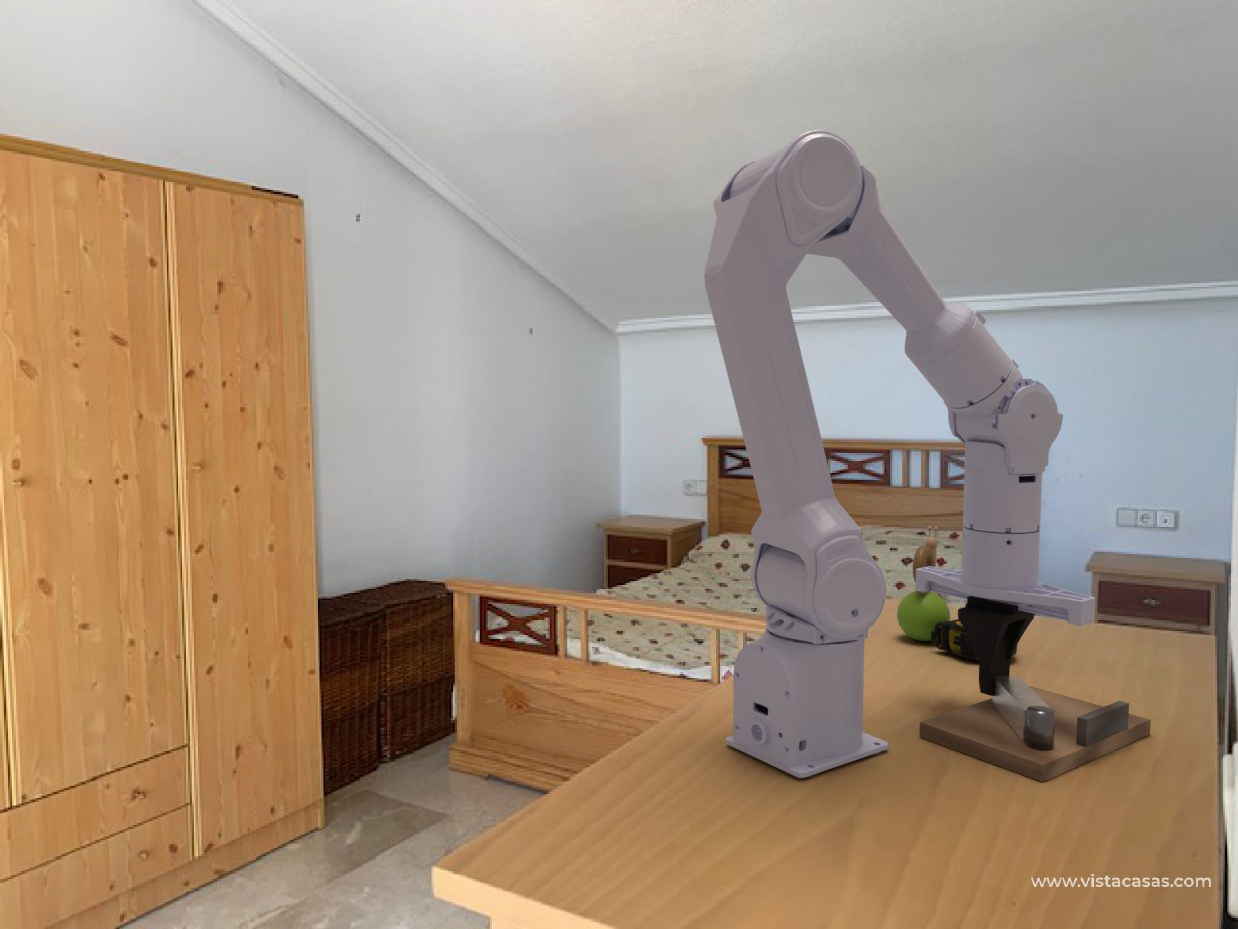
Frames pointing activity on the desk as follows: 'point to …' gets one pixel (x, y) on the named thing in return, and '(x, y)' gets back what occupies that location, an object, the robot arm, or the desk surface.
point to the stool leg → (1025, 712)
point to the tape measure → (954, 639)
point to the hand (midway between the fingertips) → (995, 692)
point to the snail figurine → (922, 599)
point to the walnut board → (992, 739)
